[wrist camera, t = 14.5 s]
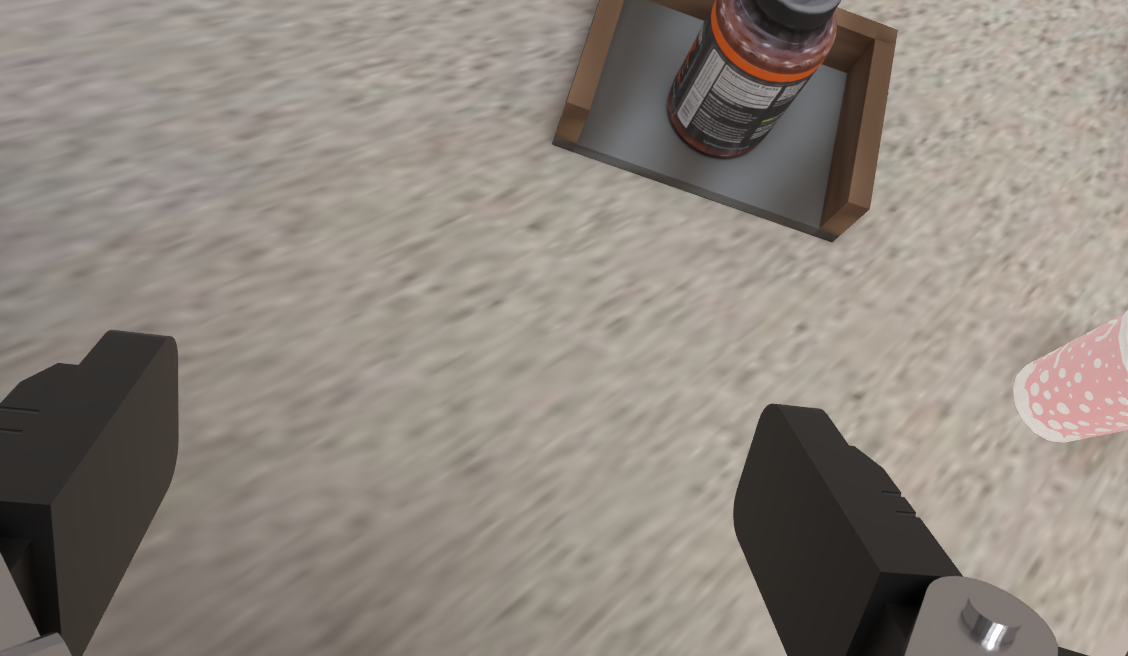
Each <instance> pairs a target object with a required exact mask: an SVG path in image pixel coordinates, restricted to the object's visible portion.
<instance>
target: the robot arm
mask: <svg viewBox="0 0 1128 656" xmlns="http://www.w3.org/2000/svg"><path fill="white" fill-rule="evenodd" d="M177 453H178V351H177V345H176V341H175V339H174V338H173V337H171V336H162V335H153V334H144V333H135V332H126V331H117V330H110V331H108V332H107V333H105V334H104V336H103V337H102V338H101V339H100V340H99V342H98V343H97V344H96V345H95V346H94V347H93V349H92V350H91V351H90V352H89V353H88V355H87V356H86V357H85V358H84V359H83V360H82V362H81V363H80V364H79V365H72V364H62V363H57V364H55V365H53V366H51V367H49V368H47V369H45V370H43V371H41V372H39V373H37V374H35V375H33V376H31V377H29V378H27V379H25V380H23V381H21V382H20V383H19V384H18V385H17V386H16V387H15V388H14V389H13V390H12V391H11V392H10V393H9V395H8V396H7V397H6V398H5V399H4V400H3V401H2V402H1V403H0V656H82V655H83V653H84V651H85V649H86V647H87V645H88V644H89V642H90V640H91V638H92V636H93V634H94V632H95V630H96V628H97V626H98V624H99V622H100V620H101V618H102V616H103V614H104V612H105V610H106V609H107V607H108V605H109V603H110V601H111V599H112V597H113V595H114V593H115V591H116V589H117V587H118V585H119V583H120V581H121V579H122V577H123V576H124V574H125V572H126V570H127V568H128V566H129V564H130V562H131V560H132V558H133V556H134V554H135V552H136V550H137V548H138V546H139V544H140V543H141V541H142V539H143V537H144V535H145V533H146V531H147V529H148V527H149V525H150V523H151V521H152V519H153V517H154V515H155V513H156V511H157V509H158V508H159V506H160V504H161V502H162V500H163V498H164V496H165V494H166V492H167V490H168V488H169V486H170V483H171V480H172V477H173V473H174V469H175V465H176V460H177ZM915 514H916V512H915V511H914V509H913V508H912V507H911V505H910V504H909V503H908V501H907V500H906V498H905V497H901V492H900V490H899V489H898V488H897V486H896V485H895V484H894V482H893V481H892V480H891V478H890V477H889V475H888V474H887V473H886V471H885V470H884V469H883V468H882V467H881V466H879V465H878V464H877V463H876V462H874V461H873V460H872V459H870V458H869V457H868V456H867V455H865V454H864V453H863V452H861V451H860V450H859V449H857V448H856V447H855V446H849V445H848V443H847V442H846V440H845V439H844V438H843V436H842V435H841V433H840V432H839V431H838V429H837V428H836V426H835V425H834V423H833V422H832V421H831V419H830V418H829V416H828V415H827V414H826V413H825V411H823V410H822V409H817V408H808V407H799V406H790V405H781V404H769V405H768V406H767V407H766V408H765V409H764V410H763V412H762V414H761V416H760V419H759V421H758V424H757V428H756V431H755V434H754V437H753V440H752V443H751V447H750V450H749V453H748V456H747V459H746V462H745V466H744V469H743V472H742V475H741V478H740V481H739V485H738V488H737V491H736V495H735V500H734V511H733V518H734V528H735V532H736V536H737V539H738V541H739V543H740V546H741V548H742V550H743V553H744V555H745V557H746V560H747V562H748V564H749V567H750V569H751V572H752V574H753V576H754V579H755V581H756V583H757V586H758V588H759V590H760V593H761V595H762V597H763V600H764V602H765V604H766V607H767V609H768V611H769V614H770V616H771V618H772V621H773V623H774V625H775V628H776V630H777V633H778V635H779V637H780V640H781V642H782V644H783V647H784V649H785V651H786V654H787V656H1088V655H1084V654H1081V653H1078V652H1074V651H1071V650H1068V649H1064V648H1061V647H1058V644H1057V641H1056V638H1055V636H1054V634H1053V632H1052V631H1051V629H1050V628H1049V626H1048V625H1047V624H1046V622H1045V621H1044V620H1043V619H1042V618H1041V617H1040V616H1039V615H1038V614H1037V613H1036V612H1035V611H1034V610H1033V609H1031V608H1030V607H1029V606H1028V605H1026V604H1025V603H1024V602H1022V601H1021V600H1020V599H1018V598H1016V597H1015V596H1013V595H1011V594H1010V593H1008V592H1006V591H1004V590H1002V589H1000V588H998V587H996V586H994V585H991V584H989V583H986V582H983V581H980V580H977V579H972V578H968V577H963V576H962V574H961V573H960V572H959V570H958V569H957V567H956V566H955V565H954V563H953V562H952V561H951V559H950V558H949V557H948V555H947V554H946V553H945V551H944V550H943V549H942V547H941V546H940V544H939V543H938V542H937V540H936V539H935V538H934V536H933V535H932V534H931V532H930V531H929V530H928V528H927V527H926V526H925V524H924V523H923V521H922V520H921V519H920V518H918V517H916V516H915ZM1125 656H1128V652H1127V654H1126V655H1125Z"/></svg>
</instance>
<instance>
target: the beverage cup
mask: <svg viewBox="0 0 1128 656" xmlns="http://www.w3.org/2000/svg"><path fill="white" fill-rule="evenodd" d="M1013 394H1014V401H1015V406H1016V408H1017V410H1018V412H1019V414H1020V416H1021V418H1022V420H1023V422H1024V423H1025V424H1026V425H1027V426H1028V427H1029V428H1030V429H1031V430H1032V431H1033V432H1034V433H1035V434H1037V435H1039V436H1041V437H1043V438H1045V439H1046V440H1048V441H1054V442H1063V443H1065V442H1070V441H1075V440H1080V439H1085V438H1090V437H1095V436H1100V435H1105V434H1110V433H1115V432H1120V431H1125V430H1128V311H1127V312H1126V313H1124V314H1123V315H1121V316H1119V317H1117V318H1115V319H1113V320H1111V321H1109V322H1107V323H1105V324H1104V325H1102V326H1100V327H1098V328H1096V329H1094V330H1092V331H1090V332H1088V333H1086V334H1084V335H1083V336H1081V337H1079V338H1077V339H1075V340H1073V341H1071V342H1069V343H1067V344H1065V345H1064V346H1062V347H1060V348H1058V349H1056V350H1054V351H1052V352H1050V353H1048V354H1046V355H1045V356H1043V357H1041V358H1039V359H1037V360H1035V361H1033V362H1031V363H1029V364H1027V365H1025V367H1024V368H1023V369H1022V370H1021V371H1020V372H1019V373H1018V374H1017V376H1016V379H1015V383H1014V387H1013Z"/></svg>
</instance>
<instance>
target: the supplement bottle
mask: <svg viewBox="0 0 1128 656" xmlns="http://www.w3.org/2000/svg"><path fill="white" fill-rule="evenodd" d="M840 2H841V0H715V2H714V4H713V6H712V7H711V9H710V11H709V13H708V15H707V17H706V19H705V21H704V23H703V25H702V27H701V29H700V31H699V33H698V35H697V37H696V39H695V41H694V43H693V45H692V47H691V49H690V50H689V52H688V54H687V56H686V58H685V59H684V62H683V64H682V65H681V67H680V69H679V71H678V73H677V75H676V76H675V79H674V82H673V84H672V87H671V89H670V93H669V99H668V108H669V110H668V112H669V115H670V118H671V121H672V123H673V125H674V126H675V128H676V130H677V131H678V133H679V134H680V135H681V136H682V138H683V139H684V140H685V141H686V142H687V143H689V145H691V146H693V147H694V148H696V149H697V150H699V151H701V152H703V153H707V154H710V155H712V156H718V157H733V156H739V155H743V154H745V153H747V152H749V151H751V150H752V149H753V148H755V147H756V146H757V145H758V144H759V143H760V142H761V141H762V140H763V139H764V138H765V137H766V136H767V134H768V133H769V132H770V130H771V129H772V128H773V127H774V125H775V124H776V123H777V121H778V120H779V119H780V117H781V116H782V115H783V114H784V112H785V111H786V110H787V108H788V107H789V106H790V104H791V103H792V102H793V101H794V99H795V98H796V97H797V95H798V94H799V93H800V91H801V90H802V89H803V87H804V86H805V85H806V83H807V82H808V81H809V80H810V78H811V77H812V75H813V74H814V73H815V72H816V70H817V69H818V67H819V66H820V65H821V63H822V62H823V61H824V59H825V58H826V57H827V55H828V53H829V52H830V50H831V48H832V46H833V43H834V40H835V37H836V30H837V20H836V13H835V9H836V8H837V6H838V5H839V3H840Z"/></svg>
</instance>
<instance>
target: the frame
mask: <svg viewBox="0 0 1128 656" xmlns="http://www.w3.org/2000/svg"><path fill="white" fill-rule="evenodd" d="M714 2H715V0H599V3H598V6H597V9H596V12H595V15H594V18H593V22H592V25H591V28H590V31H589V34H588V37H587V40H586V43H585V46H584V49H583V52H582V55H581V58H580V61H579V64H578V67H577V70H576V73H575V77H574V80H573V83H572V86H571V89H570V92H569V95H568V98H567V101H566V104H565V107H564V110H563V113H562V116H561V119H560V122H559V125H558V128H557V132H556V135H555V138H554V141H553V145H556V146H559V147H562V148H564V149H567V150H570V151H573V152H576V153H579V154H582V155H585V156H587V157H590V158H593V159H596V160H599V161H602V162H605V163H607V164H610V165H613V166H616V167H619V168H622V169H625V170H627V171H630V172H633V173H636V174H639V175H642V176H645V177H648V178H650V179H653V180H656V181H659V182H662V183H665V184H668V185H670V186H673V187H676V188H679V189H682V190H685V191H688V192H691V193H693V194H696V195H699V196H702V197H705V198H708V199H711V200H713V201H716V202H719V203H722V204H725V205H728V206H731V207H734V208H736V209H739V210H742V211H745V212H748V213H751V214H754V215H756V216H759V217H762V218H765V219H768V220H771V221H774V222H776V223H779V224H782V225H785V226H788V227H791V228H794V229H797V230H799V231H802V232H805V233H808V234H811V235H814V236H817V237H819V238H822V239H825V240H828V241H831V242H833V241H834V240H835V239H836V238H838V237H839V236H840V235H841V234H842V233H843V232H844V231H846V230H847V229H848V228H849V227H850V226H851V225H852V224H854V223H855V222H856V221H857V220H858V219H859V218H860V217H861V216H863V215H864V214H865V213H866V212H867V211H868V210H869V209H870V204H871V198H872V191H873V185H874V179H875V172H876V166H877V159H878V153H879V147H880V140H881V134H882V127H883V121H884V115H885V108H886V102H887V95H888V89H889V83H890V76H891V70H892V63H893V57H894V51H895V44H896V38H897V31H898V30H896V29H894V28H891V27H888V26H886V25H883V24H880V23H878V22H875V21H872V20H870V19H867V18H864V17H862V16H859V15H856V14H854V13H851V12H848V11H846V10H843V9H840V8H838V7H837V8H836V9H835V13H836V20H837V30H836V37H835V40H834V43H833V46H832V48H831V50H830V52H829V53H828V55H827V57H826V58H825V59H824V61H823V62H822V63H821V65H820V66H819V67H818V69H817V70H816V72H815V73H814V74H813V75H812V77H811V78H810V80H809V81H808V82H807V83H806V85H805V86H804V87H803V89H802V90H801V91H800V93H799V94H798V95H797V97H796V98H795V99H794V101H793V102H792V103H791V104H790V106H789V107H788V108H787V110H786V111H785V112H784V114H783V115H782V116H781V117H780V119H779V120H778V121H777V123H776V124H775V125H774V127H773V128H772V129H771V130H770V132H769V133H768V134H767V136H766V137H765V138H764V139H763V140H762V141H761V142H760V143H759V144H758V145H757V146H756V147H755V148H753V149H752V150H751V151H749V152H747V153H745V154H743V155H739V156H733V157H718V156H712V155H710V154H707V153H703V152H701V151H699V150H697V149H696V148H694V147H693V146H691V145H689V143H687V142H686V141H685V140H684V139H683V138H682V136H681V135H680V134H679V133H678V131H677V130H676V128H675V126H674V125H673V123H672V121H671V118H670V115H669V112H668V110H669V108H668V99H669V93H670V89H671V87H672V84H673V82H674V79H675V76H676V75H677V73H678V71H679V69H680V67H681V65H682V64H683V62H684V59H685V58H686V56H687V54H688V52H689V50H690V49H691V47H692V45H693V43H694V41H695V39H696V37H697V35H698V33H699V31H700V29H701V27H702V25H703V23H704V21H705V19H706V17H707V15H708V13H709V11H710V9H711V7H712V6H713V4H714Z"/></svg>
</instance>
